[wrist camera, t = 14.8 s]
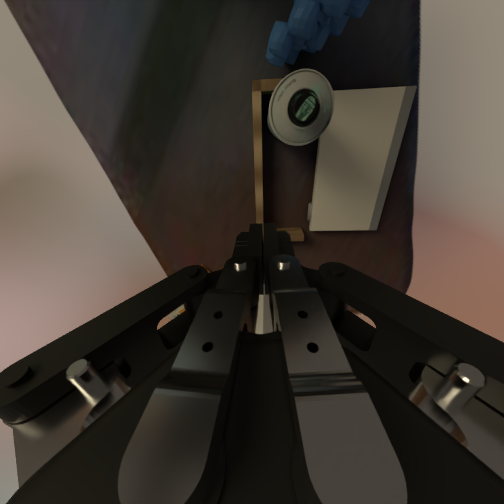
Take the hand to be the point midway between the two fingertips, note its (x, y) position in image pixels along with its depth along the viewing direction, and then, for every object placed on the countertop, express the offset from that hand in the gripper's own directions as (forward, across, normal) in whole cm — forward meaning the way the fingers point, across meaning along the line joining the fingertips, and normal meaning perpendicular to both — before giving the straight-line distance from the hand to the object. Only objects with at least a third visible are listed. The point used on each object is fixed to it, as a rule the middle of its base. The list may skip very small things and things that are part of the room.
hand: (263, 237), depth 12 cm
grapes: (+28, -6, -15) cm, 33 cm away
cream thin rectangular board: (+26, -9, +2) cm, 27 cm away
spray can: (+28, -4, -6) cm, 29 cm away
